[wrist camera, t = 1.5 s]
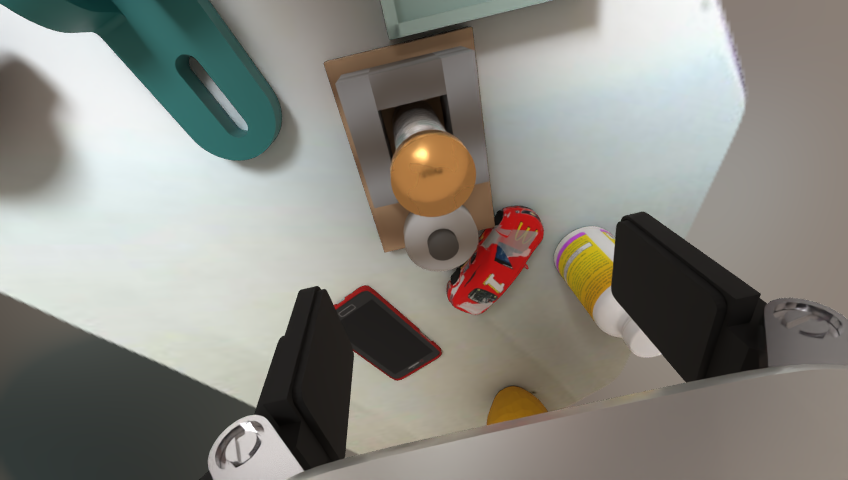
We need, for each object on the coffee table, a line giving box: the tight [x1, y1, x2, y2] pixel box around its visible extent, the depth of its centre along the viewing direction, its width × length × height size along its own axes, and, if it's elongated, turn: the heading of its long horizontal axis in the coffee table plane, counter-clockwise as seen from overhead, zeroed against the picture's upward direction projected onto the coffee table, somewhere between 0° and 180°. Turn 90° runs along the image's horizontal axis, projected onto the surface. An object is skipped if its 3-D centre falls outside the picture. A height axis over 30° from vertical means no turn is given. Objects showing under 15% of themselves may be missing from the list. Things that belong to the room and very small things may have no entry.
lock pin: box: [390, 100, 476, 217], centre depth 24 cm, size 4×4×12 cm
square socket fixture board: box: [324, 27, 495, 271], centre depth 28 cm, size 17×11×8 cm, turn 12°
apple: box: [487, 386, 548, 425], centre depth 48 cm, size 8×8×9 cm
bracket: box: [0, 0, 282, 161], centre depth 22 cm, size 18×7×8 cm, turn 27°
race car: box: [447, 206, 544, 315], centre depth 37 cm, size 13×5×4 cm, turn 149°
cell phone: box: [334, 286, 442, 381], centre depth 43 cm, size 8×15×1 cm, turn 37°
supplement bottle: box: [554, 226, 662, 358], centre depth 34 cm, size 7×7×13 cm
